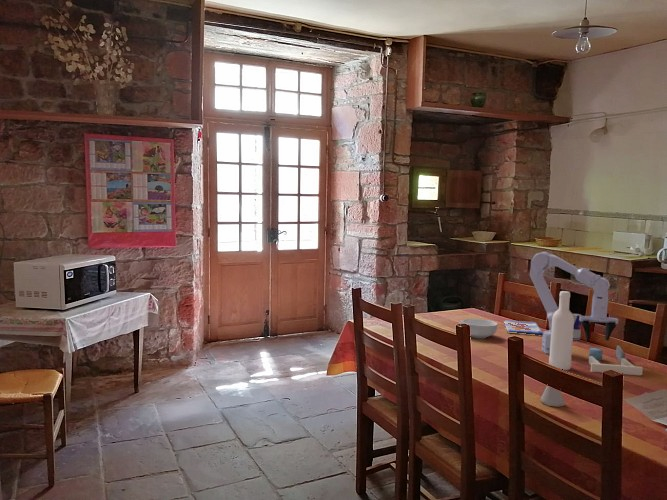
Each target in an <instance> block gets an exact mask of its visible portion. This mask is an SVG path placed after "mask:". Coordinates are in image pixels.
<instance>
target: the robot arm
mask: <svg viewBox="0 0 667 500" xmlns="http://www.w3.org/2000/svg"><path fill="white" fill-rule="evenodd" d="M548 267H558V268H559V269H561V270H563V271H565V272H567V273H570V274H571V275H573V276H574V277H575V280H577V282H580V283H581V284H584V285H585V286H586V287H589V288H592V290H593V295H592V301H591V311H590V313H591V315H582V316H580V317H579V321H581V326H582V328H583V330H584V334H585V339H586V340H590V330H591V325H592V324H591V322H592V323H593V322H594V323H605V334H604V339H605V340H606V341H607V342H608V341H609V340H610V337H611V335H612V333H613V331H614V330H615V328H616V325H618V324H619V318H616V317H608V316H607V315H608V305H609V304H608V303H609V289H610V285H611V284H610V282H609V280H608V278H606V277H604V276H601V275H600V274H596V273H594V272H592V271H590V269H589V268H585V267H581V268H578V267H576V266H574V265H573V264H571V263H569V262H568V261H566V260H564V259H563V258H561V257H559V256H557V255H555V254H553V253H550V252H548V251H541V252H537V253H535V254H534V255H533V257H532V259H530V269H529V277H530V279H531V282H532V283H533V286H534V287H535V290H536V293H537V294H538V297H539V299H540V300H541V303H542V305H543V307H544V310H545V311H546V316H547V321H548V328H549V330H547V331H545V330H543V331H542V332H543V335H542V338H541V339H542V340H541V341H542V342H541V350H542V351H543V353H545V354H547V355H550V344H551V330H552V317H553V314H554V312H555V311H557V310H558V309H559V306H558V305H557V303H556V300H555V299H554V297H553V294H552V292H551V290H550V288H549V286H548V284H547V282H546V279H545V277H544V272H545V271H546V268H548Z"/></svg>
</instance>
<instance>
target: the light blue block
mask: <svg viewBox="0 0 667 500" xmlns="http://www.w3.org/2000/svg"><path fill="white" fill-rule="evenodd" d="M603 353H604V350H603V349H600V348H598V347H597V348H596V347H591V348H589V351H588V357H589V356H593V357H594V358H595V359H596V360H597V361H598V362H602V361H603ZM601 360H602V361H601Z"/></svg>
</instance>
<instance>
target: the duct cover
mask: <svg viewBox="0 0 667 500" xmlns="http://www.w3.org/2000/svg"><path fill="white" fill-rule="evenodd" d="M615 351H616V352H615V356H616V358H617V360H618V361H619V363H620V364H621V358H625V359H626V353H625V352H624V350H623V349H622V347H621V346H620V345H617V344H616V349H615Z"/></svg>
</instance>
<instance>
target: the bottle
mask: <svg viewBox="0 0 667 500" xmlns="http://www.w3.org/2000/svg"><path fill="white" fill-rule="evenodd" d="M570 298H571V292H570V291H566V290H561V291H560V292H559V303H558V310H557V311H555V312H554V314H553V317H552V330H551V344H550V354H549V358H548V365H549V364H550V365H552V366H555V367H557V368H560V369H563V370H562V371H569V370H570V369H571V367H572V366H571V365H572V352H573V342H574V341H573V328H574V317H573V314H574V313H573V312H571V310H570Z"/></svg>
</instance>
